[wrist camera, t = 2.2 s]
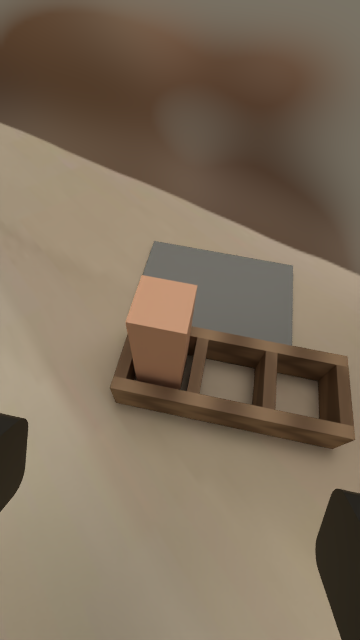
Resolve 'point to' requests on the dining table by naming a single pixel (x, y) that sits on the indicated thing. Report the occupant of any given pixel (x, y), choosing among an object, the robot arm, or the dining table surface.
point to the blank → (161, 330)
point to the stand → (261, 414)
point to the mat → (230, 290)
